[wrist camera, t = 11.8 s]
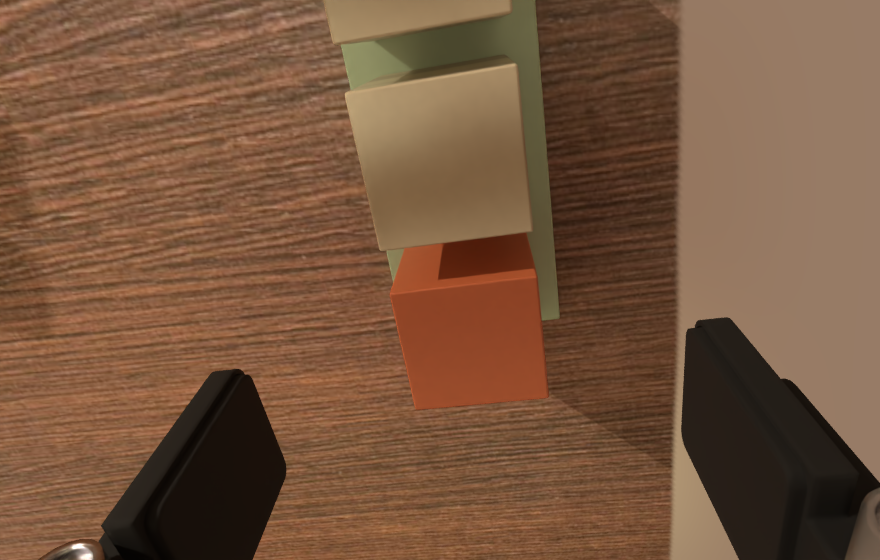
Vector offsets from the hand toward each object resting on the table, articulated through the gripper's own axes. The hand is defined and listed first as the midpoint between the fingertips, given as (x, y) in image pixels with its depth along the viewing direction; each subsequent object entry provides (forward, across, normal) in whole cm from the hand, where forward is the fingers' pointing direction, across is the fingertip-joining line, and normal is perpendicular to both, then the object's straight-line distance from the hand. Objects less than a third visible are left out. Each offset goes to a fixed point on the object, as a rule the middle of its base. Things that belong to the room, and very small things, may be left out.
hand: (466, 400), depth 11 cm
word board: (+9, 0, -4) cm, 10 cm away
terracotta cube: (+8, 0, +1) cm, 8 cm away
